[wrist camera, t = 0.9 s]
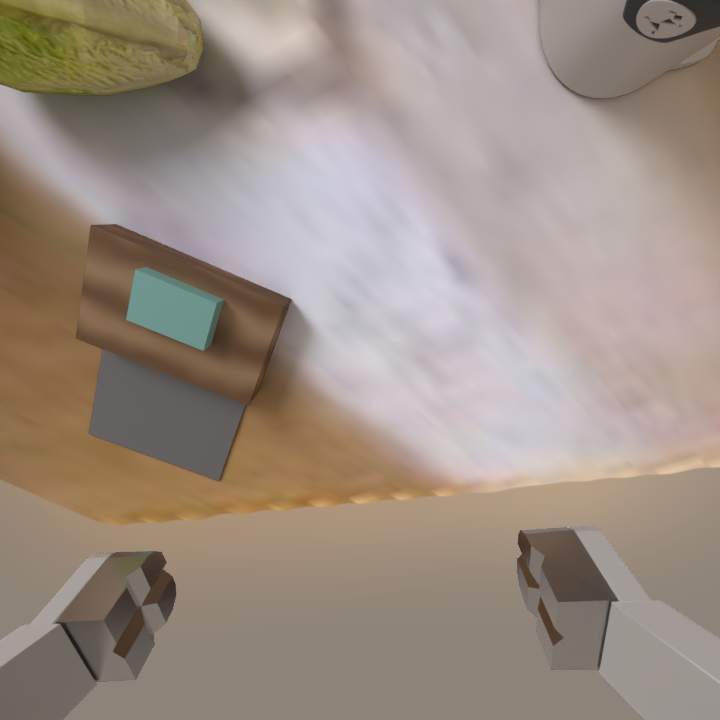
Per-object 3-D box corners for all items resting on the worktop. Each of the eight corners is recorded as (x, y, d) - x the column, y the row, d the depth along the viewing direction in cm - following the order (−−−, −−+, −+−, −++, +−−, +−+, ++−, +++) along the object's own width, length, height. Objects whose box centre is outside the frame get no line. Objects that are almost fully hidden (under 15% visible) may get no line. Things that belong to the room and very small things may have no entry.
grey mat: (105, 338, 48) (104, 339, 48) (249, 394, 50) (248, 395, 50) (90, 432, 54) (88, 433, 53) (219, 479, 56) (218, 481, 55)
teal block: (146, 267, 40) (135, 269, 38) (224, 299, 41) (216, 303, 39) (137, 315, 42) (125, 319, 41) (210, 345, 43) (203, 350, 41)
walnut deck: (116, 224, 43) (90, 224, 39) (291, 299, 45) (283, 306, 41) (99, 329, 48) (75, 338, 44) (258, 391, 50) (248, 405, 46)
